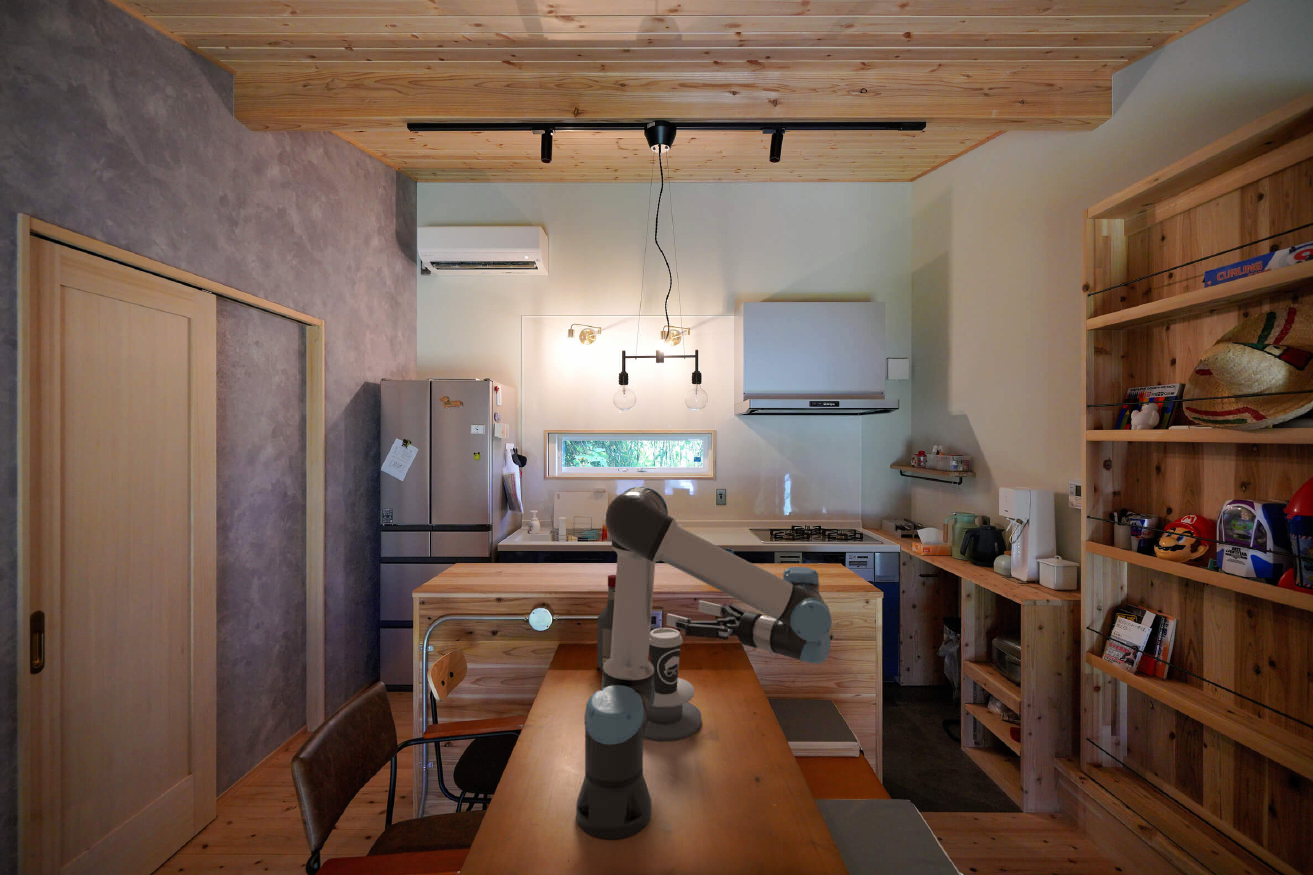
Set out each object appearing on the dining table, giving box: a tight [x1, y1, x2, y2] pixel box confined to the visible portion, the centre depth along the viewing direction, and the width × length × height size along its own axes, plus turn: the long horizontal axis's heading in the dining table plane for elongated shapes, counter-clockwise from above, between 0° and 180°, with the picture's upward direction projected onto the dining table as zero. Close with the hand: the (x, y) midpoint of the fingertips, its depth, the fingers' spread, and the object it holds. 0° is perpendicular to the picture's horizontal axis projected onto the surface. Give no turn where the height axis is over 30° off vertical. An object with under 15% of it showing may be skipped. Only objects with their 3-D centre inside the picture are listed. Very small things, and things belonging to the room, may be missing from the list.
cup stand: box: [643, 677, 702, 742], centre depth 151 cm, size 20×20×8 cm
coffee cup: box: [649, 627, 684, 694], centre depth 151 cm, size 10×10×15 cm
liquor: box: [596, 574, 616, 673], centre depth 185 cm, size 9×9×30 cm
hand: (684, 612), depth 142 cm, fingers open, 13 cm apart
